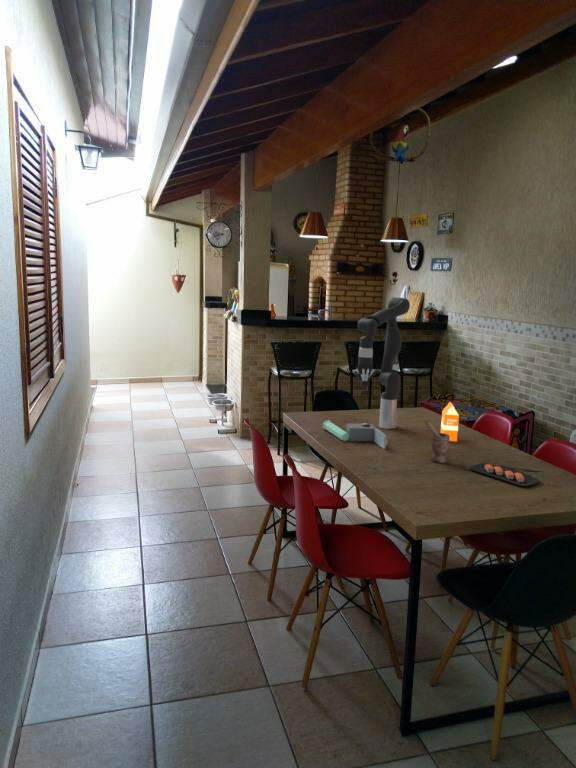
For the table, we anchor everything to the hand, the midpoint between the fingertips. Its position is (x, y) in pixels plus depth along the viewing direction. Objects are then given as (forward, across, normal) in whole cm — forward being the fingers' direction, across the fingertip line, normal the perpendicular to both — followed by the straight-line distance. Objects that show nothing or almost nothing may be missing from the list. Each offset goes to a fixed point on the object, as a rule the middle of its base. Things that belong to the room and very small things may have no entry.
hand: (363, 387), depth 312 cm
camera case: (+27, +2, +7) cm, 28 cm away
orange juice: (+27, -48, +6) cm, 55 cm away
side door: (+27, -5, +19) cm, 33 cm away
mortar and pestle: (+27, -26, +45) cm, 58 cm away
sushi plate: (+28, -56, +63) cm, 89 cm away
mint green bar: (+27, +14, 0) cm, 31 cm away
